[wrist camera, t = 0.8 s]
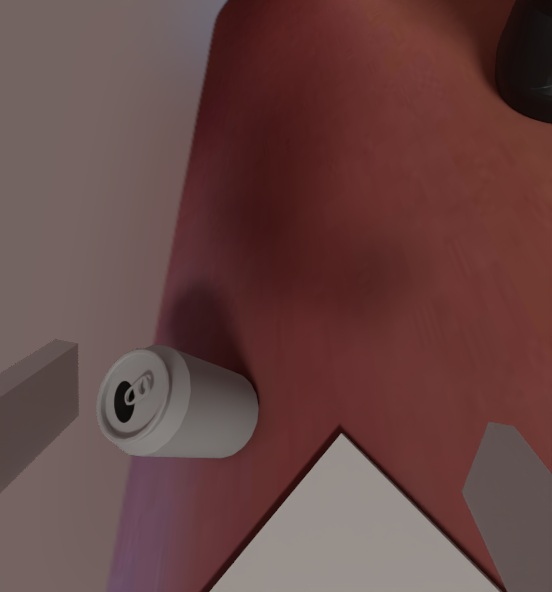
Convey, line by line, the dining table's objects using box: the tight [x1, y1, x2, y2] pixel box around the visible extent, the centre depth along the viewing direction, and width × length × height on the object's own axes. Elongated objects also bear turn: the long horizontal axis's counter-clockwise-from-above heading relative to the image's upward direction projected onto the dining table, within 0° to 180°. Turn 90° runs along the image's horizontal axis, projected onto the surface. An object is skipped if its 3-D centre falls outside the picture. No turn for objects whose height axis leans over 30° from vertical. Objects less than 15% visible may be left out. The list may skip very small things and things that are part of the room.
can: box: [96, 345, 259, 458], centre depth 30 cm, size 8×8×12 cm
